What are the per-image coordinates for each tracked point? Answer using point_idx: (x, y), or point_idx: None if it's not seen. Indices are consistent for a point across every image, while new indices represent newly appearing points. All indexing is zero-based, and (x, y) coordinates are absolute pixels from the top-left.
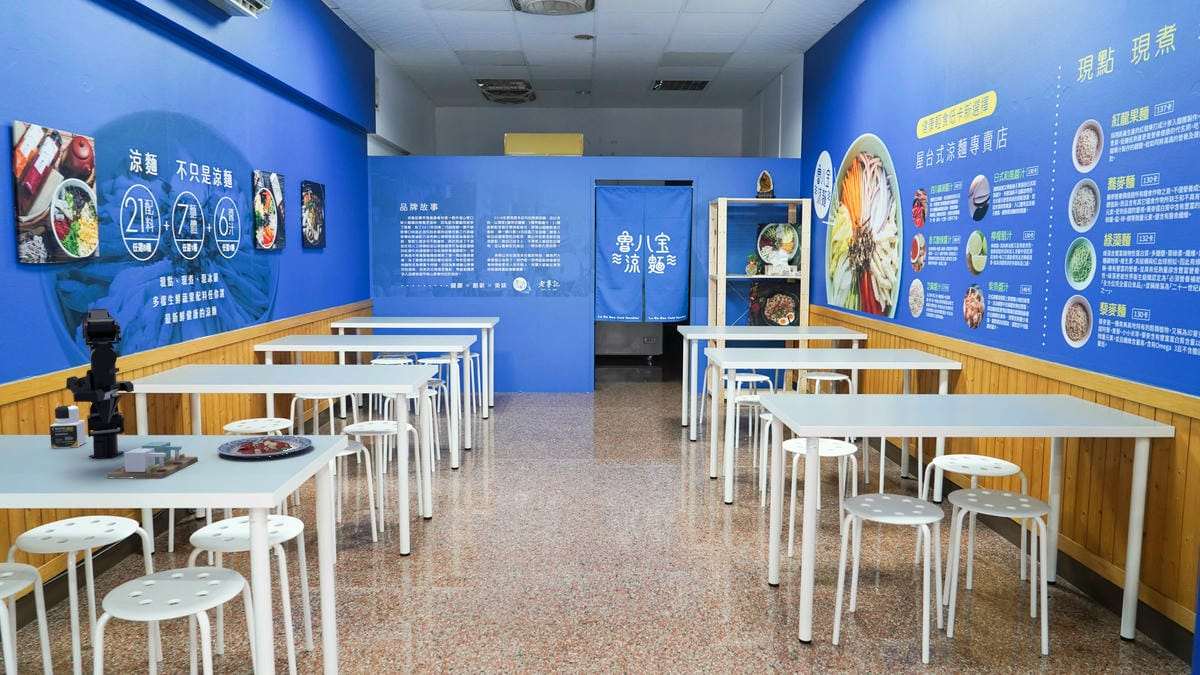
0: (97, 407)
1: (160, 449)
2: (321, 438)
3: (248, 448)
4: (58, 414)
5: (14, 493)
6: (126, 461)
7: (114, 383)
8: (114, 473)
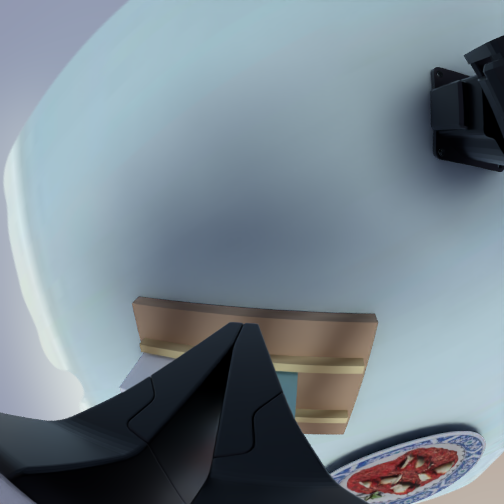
0: (101, 416)
1: None
2: (465, 479)
3: (396, 471)
4: None
5: (15, 152)
6: (133, 372)
7: None
8: (137, 323)
